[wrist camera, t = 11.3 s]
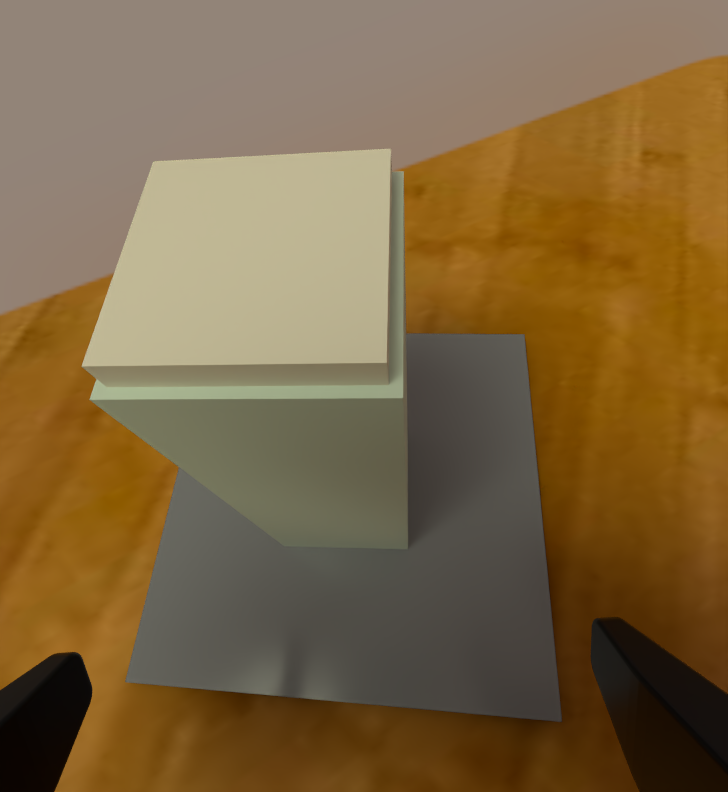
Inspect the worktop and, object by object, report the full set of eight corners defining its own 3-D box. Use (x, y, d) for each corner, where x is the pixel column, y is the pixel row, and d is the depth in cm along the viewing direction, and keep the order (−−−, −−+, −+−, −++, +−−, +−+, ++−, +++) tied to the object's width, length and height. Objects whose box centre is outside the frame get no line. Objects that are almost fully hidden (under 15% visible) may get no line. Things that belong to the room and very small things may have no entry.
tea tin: (408, 549, 17) (402, 376, 6) (284, 546, 18) (62, 379, 6) (407, 432, 19) (403, 140, 8) (296, 432, 20) (145, 154, 8)
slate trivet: (558, 720, 15) (562, 721, 14) (131, 681, 16) (125, 681, 16) (522, 339, 21) (524, 334, 21) (216, 336, 23) (213, 332, 22)
